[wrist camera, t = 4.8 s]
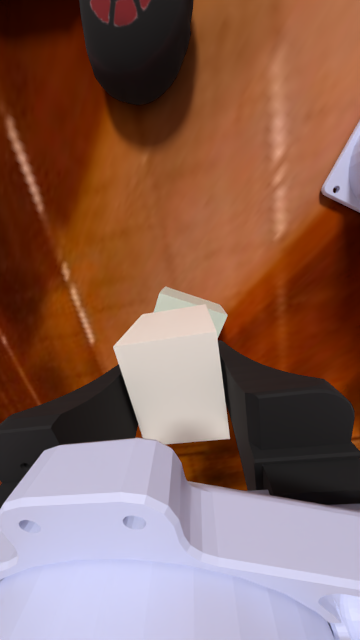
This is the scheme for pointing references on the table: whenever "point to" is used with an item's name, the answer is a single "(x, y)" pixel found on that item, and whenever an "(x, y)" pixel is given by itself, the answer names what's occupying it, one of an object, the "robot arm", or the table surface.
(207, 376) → the cream brick
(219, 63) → the table surface
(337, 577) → the robot arm
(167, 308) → the sage base brick
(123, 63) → the toy motorcycle
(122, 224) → the table surface
